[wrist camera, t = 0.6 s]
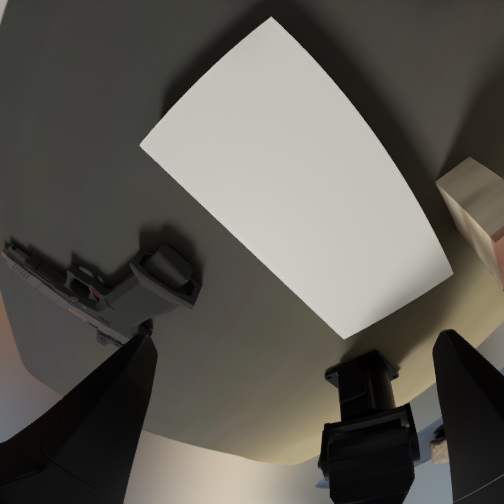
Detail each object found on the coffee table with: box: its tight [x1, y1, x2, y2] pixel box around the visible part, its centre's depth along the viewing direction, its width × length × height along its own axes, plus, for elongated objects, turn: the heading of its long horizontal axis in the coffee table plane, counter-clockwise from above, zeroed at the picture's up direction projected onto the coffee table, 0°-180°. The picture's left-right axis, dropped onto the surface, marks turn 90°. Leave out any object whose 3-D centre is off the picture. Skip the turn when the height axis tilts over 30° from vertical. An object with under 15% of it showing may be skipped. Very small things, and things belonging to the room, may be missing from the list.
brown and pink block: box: [435, 157, 504, 291], centre depth 15 cm, size 5×4×8 cm
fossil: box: [429, 438, 449, 465], centre depth 38 cm, size 16×10×20 cm
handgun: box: [2, 244, 202, 348], centre depth 24 cm, size 3×21×15 cm
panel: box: [139, 17, 454, 339], centre depth 18 cm, size 20×10×3 cm, turn 43°
